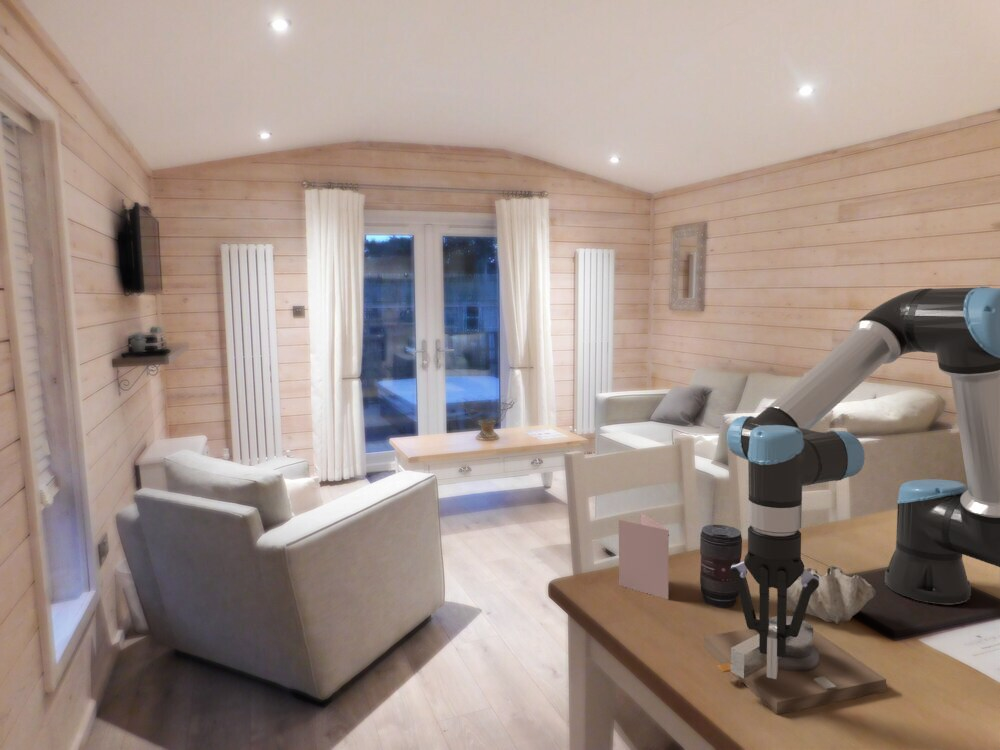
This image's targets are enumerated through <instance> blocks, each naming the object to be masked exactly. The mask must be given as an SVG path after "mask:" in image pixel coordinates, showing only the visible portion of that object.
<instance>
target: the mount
mask: <svg viewBox="0 0 1000 750" xmlns="http://www.w3.org/2000/svg"><path fill="white" fill-rule="evenodd" d="M757 634H759V633H758V632H757V631H756V630H754V629H753V630H751V629H749V628H743V629H740V630H735V631H727V632H724V633H718V634H711V635H706V636H705V635H704V636H703V648H704V649H705V650H706V651H708V652H709V653H710V654H711V655H712V656H713V657H714V658H715V659H716V660H717V661H718V662H719V663H720V664H717V669H719V670H720V671H721V672H722V673H731V672H730V671H731V648H732V647H734V646H736V645H738V644H740V643H742V642H744V641H746V640H748V639H750V638H752V637H753V636H755V635H757ZM732 675H734V676H735V678H736V679H738V680H739V681H740V682H741V683H742V682H743V683H744V684H745V685H746V686H747V687H746V686H745V685H744V684H743V683H742V684H743V685H744V686H745V687H746V688H747V689H749V691H751V692H752V693H753V694H754V695H755V696H756V697H757V698H758V699H759V698H760V699H761V700H760V699H759V700H760V701H761V702H762V703H763V704H765V705H766V706H767V707H768V708H769V709H770V710H771V711H772V712H773V711H774V712H773V713H775V715H781V714H786V713H789V711H790V712H795V711H798V710H799V709H800V710H804V709H807V708H812V707H818V706H822V705H823V706H824V705H827V704H832V703H836V702H841V701H844V700H845V701H846V700H849V699H854V698H859V697H863V696H869V695H873V694H878V693H883V692H886V691H887V679H886V678H885V677H884V676H883V675H881V674H879V673H878V672H877V671H875V670H874V669H872V668H871V667H869V666H867V665H866V664H865V663H864V662H862V661H860V660H859V659H858V658H856V657H854V656H853V655H852V654H850V653H848V651H846V650H844V649H842V648H841V647H840V646H838V645H837V644H836V643H834V642H833V641H831V640H830V639H829V638H827V637H826V636H824V635H823V634H821V633H819V632H818V631H817V630H815V629H814V628H813V651H812V654H811V655H809V656H807V657H803V658H792V657H787V656H784V658H783V657H782V658H780V659H778V671H777V678H776V679H773V678H768V677H767V666H766V667H764V668H762V669H760V670H759V671H757V672H755V673H753V674H751V675H750V676H748V677H746V678H744V679H743V678H742V677H740V676H738V675H736V674H734V673H733V674H732Z"/></svg>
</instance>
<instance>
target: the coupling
mask: <svg viewBox="0 0 1000 750" xmlns="http://www.w3.org/2000/svg"><path fill="white" fill-rule="evenodd" d="M792 619H793V616H791V615H787V616H786V625H790V624H791V622H792ZM813 629H814V627H813V625H812V624H810V623H809V622H808V621H806V620H804V619H803V621H802V624H801V628H800V631H799V634H798V636H797V637H792V636H790V637H787V638H786V652H785V656H787V657H792V658H803V657H807V656H809V655H811V654H812V651H813ZM769 630H775V631H777V615H775V616H771V617H769ZM780 658H782V657H778V659H780ZM766 666H767V654H762V653H760V650H759V634H757V635H755V636H753V637H752V638H750V639H748V640H746V641H744V642H742V643H740V644H738V645H736V646H734V647H732V648H731V672H732V673H734V674H736V675H738V676H740V677H742V678H743V679H744V678H746V677H748V676H750V675H751V674H753V673H755V672H757V671H759V670H760V669H762V668H764V667H766ZM731 672H730V673H731ZM732 673H731V674H732ZM734 674H733V675H734Z"/></svg>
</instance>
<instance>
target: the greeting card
mask: <svg viewBox="0 0 1000 750" xmlns="http://www.w3.org/2000/svg"><path fill="white" fill-rule="evenodd" d="M640 518H641V520H640V523H636V522H631V521H626V520H621V519H618V577H619V578H618V585H622V586H624V587H623V588H625V587H627V588H626V589H628V588H630V589H629V590H632V589H633V591H635V590H636V591H635V592H639V591H640V592H639V593H642V592H644V593H643V594H646V593H648V594H647V595H649V594H652V595H651V596H653V595H654V596H653V597H656V596H659V597H658V598H660V597H662V598H661V599H664V598H665V600H667V599H668V600H669V547H670V545H669V542H670V541H669V537H670V534H669V532H670V531H669V529H667V528H666V527H664V525H663V526H662V525H661V524H659V523H657V522H656V521H655V520H654V519H651V518H650V517H648V516H647V515H645V514H644V513H642V512H641V513H640Z"/></svg>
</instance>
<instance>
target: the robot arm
mask: <svg viewBox="0 0 1000 750" xmlns="http://www.w3.org/2000/svg"><path fill="white" fill-rule="evenodd" d="M849 334H850V335H849V336H848V337H847V338H846V339H845V340H843V341H842V342H840V344H839V345H838V346H836V347H835V348H834V349H833V350H832V351H830V352H829V353H828V354H827V355H826V356H825V357H824V358H822V359H821V360H820V361H819V362H817V364H815V365H814V367H812V368H811V369H810V370H809V371H808V372H806V373H805V374H803V376H802V377H800V379H798V380H797V381H796V382H795V383H794V384H793V385H791V386H790V387H789V388H788V389H786V390H785V392H783V393H782V394H781V395H780V396H778V397H777V398H776V399H775V400H774V401H773V402H772V403H771V404H770V405H768V407H766V408H765V409H764V410H763V411H761V412H760V413H759V414H758V415H757V416H752V415H749V416H747V415H746V416H744V415H743V416H740V417H736V418H735V419H734V420H733V421H732V422H731V423H730V424H729V427H728V429H727V432H726V443H727V447H728V449H729V450H730V452H731V453H732V454H734V455H735V456H738V457H739V458H742V459H743V460H744V459H745V460H747V461H748V462H747V463H748V467H747V468H748V469H747V470H748V475H747V476H748V498H747V523H748V525H749V527H748V528H747V553H746V555H744V560H743V561H740V563H739V564H737V563H733V564H732V566H731V569H730V575H731V576H732V578H733V579H734V581H735V582H736V584H737V588H738V592H739V596H738V597H739V598H740V603H741V607H742V611H743V612H742V613H743V616H744V620H745V623H746V626H747V629H751V630H753V629H754V630H756V631H757V632H758V633H759V650H760V653H762V654H767V677H768V678H773V679H776V678H777V671H778V657H783V658H784V656H785V652H786V638H787V637H790V636H792V637H797V636H798V634H799V631H800V628H801V624H802V621H803V620H804V617H805V615H806V614H805V612H806V609H807V606H808V603H809V599H810V596H811V594H812V593H813V592H814V591H815V590H816V589H817V588H818V586H819V576H818V575H816V574H811V573H809V572H808V571H807V570H806V568H805V564H804V562H803V560H802V533H801V531H800V529H802V511H803V510H802V509H803V505H802V504H803V487H804V486H807V487H808V486H811V485H817V484H823V483H828V482H829V483H830V482H833V481H834V482H835V481H836V482H838V481H842V480H844V479H847V478H851V477H853V476H855V475H857V474H859V472H861V470H863V469H862V468H863V467H864V464H865V450H864V446H863V444H862V443H861V441H860V440H859V438H858V437H856V436H855V435H854V434H853V433H850V432H848V431H846V430H829V431H826V432H824V431H823V432H822V431H815V430H811V429H812V428H813V427H814V426H815V425H817V424H818V423H819V422H820V421H821V420H822V419H823V418H824V417H826V415H828V413H830V412H831V411H832V410H833V409H835V407H836V406H837V405H839V404H840V403H841V402H842V401H843V400H844V399H846V397H848V396H849V395H850V394H851V393H852V392H853V391H854V390H855V389H857V388H858V387H859V386H860V385H861V384H862V383H863V382H865V380H867V379H868V378H869V377H870V376H871V375H872V374H873V373H874V372H875V371H876V370H877V369H879V368H880V367H882V366H883V365H887V364H891V363H893V362H895V361H896V360H897V359H899V358H900V357H901V356H903V355H905V354H909V353H917V352H921V353H932V354H936V357H937V359H936V360H937V364H938V368H939V370H940V371H941V372H942V373H944V374H946V375H948V376H949V377H950V381H951V388H952V393H953V400H954V406H955V412H956V413H955V414H956V421H957V427H958V433H959V437H960V438H959V439H960V445H961V451H962V458H963V463H964V464H963V465H964V471H965V477H966V483H967V484H965V483H963V482H961V481H958V480H957V481H956V480H951V479H950V480H949V479H934V478H933V479H932V478H931V479H928V478H927V479H926V478H925V479H914V480H909V481H906V482H904V483H903V484H901V485H900V487H899V489H898V497H897V501H896V503H897V512H896V515H897V517H896V535H895V537H896V538H895V539H896V541H895V551H894V552H893V554H892V557H891V558H890V561H889V564H888V566H887V568H886V570H885V572H884V584H885V583H886V584H885V586H886V585H887V586H888V587H889V588H890V589H891V590H890V589H889V588H888V587H887V586H886V587H887V588H888V589H889V590H890V591H892V590H893V591H895V592H897V593H899V594H902V595H905V596H907V597H911V598H914V599H918V600H922V601H928V602H935V603H956V602H961V601H965V600H967V599H969V598H970V596H971V597H972V586H971V582H970V581H969V580H968V576H967V572H966V567H965V564H964V561H963V556H966V557H970V558H972V559H976V560H978V561H981V562H984V563H986V564H989V565H992V566H995V567H998V568H1000V287H999V288H998V287H990V286H978V287H976V286H975V287H951V288H950V287H948V288H945V287H944V288H943V287H942V288H932V287H931V288H929V287H928V288H918V289H914V290H913V289H912V290H909V291H907V292H904V293H901V294H898V295H897V296H894V297H893V298H890V299H889V300H887V301H885V302H883V303H882V304H879V305H878V306H876V307H875V308H873V309H872V310H871V311H869V312H867V314H865V315H864V316H863V317H862V318H860V319H859V320H857V322H856V323H855V324H853V325H852V326H851V328H850V332H849ZM748 572H749V573H750V575H751V576H752V577H753V579H754V580H755V582H756V583H757V584H758V587H759V588H758V589H759V591H758V592H759V612H758V613H759V615H758V616H759V619H758V618H757V615H756V609H755V607H754V603H753V598H752V595H751V594H752V593H751V592H750V591H751V590H750V587H749V584H748V580H747V574H748ZM800 577H801V579H802V580H801V584H802V586H803V587H802V590H801V593H800V597H799V600H798V603H797V606H796V609H795V612H793V616H792V617H793V619H792V622H791V624H790V625H786V616H788V615H787V611H788V610H787V588H789V587H790V586H791V585H792V584H793V583H794V582H795V581H796V580H797V579H798V578H800ZM771 588H774V589H776V592H777V593H776V596H777V597H776V598H777V601H776V606H777V607H776V616H777V631H775V630H769V619H770V589H771ZM893 591H892V592H893ZM895 592H894V593H895ZM897 593H896V594H897ZM899 594H898V595H899ZM970 599H971V598H970Z"/></svg>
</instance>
